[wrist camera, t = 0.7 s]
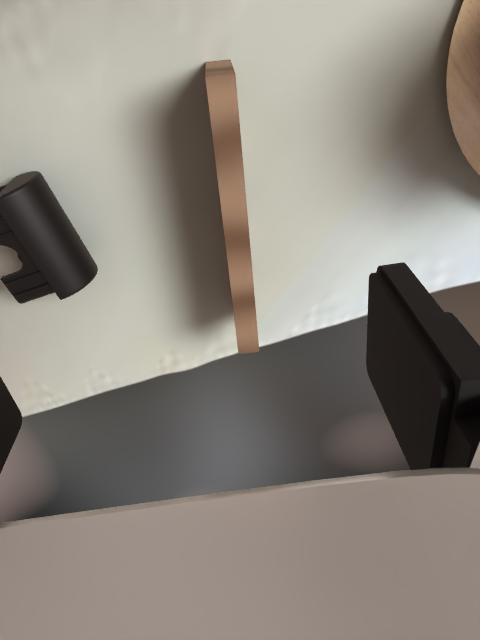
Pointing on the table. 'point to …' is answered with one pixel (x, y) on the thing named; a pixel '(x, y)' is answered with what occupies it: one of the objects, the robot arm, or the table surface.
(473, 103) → the stacked tins on plate
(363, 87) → the table surface
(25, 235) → the end cap
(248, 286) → the walnut board
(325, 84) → the table surface
